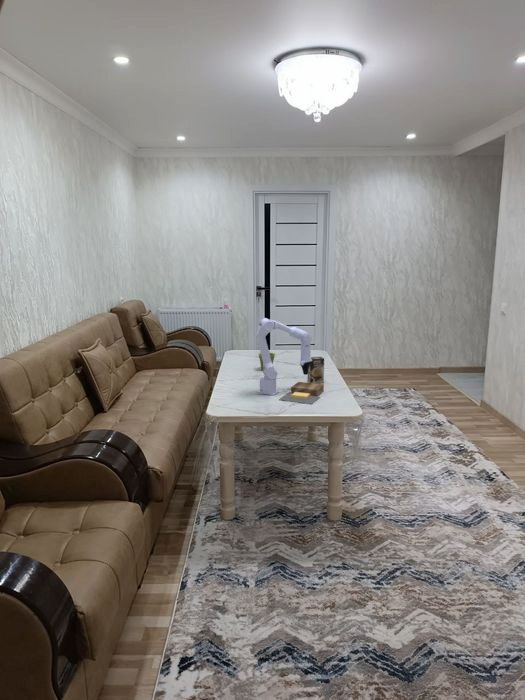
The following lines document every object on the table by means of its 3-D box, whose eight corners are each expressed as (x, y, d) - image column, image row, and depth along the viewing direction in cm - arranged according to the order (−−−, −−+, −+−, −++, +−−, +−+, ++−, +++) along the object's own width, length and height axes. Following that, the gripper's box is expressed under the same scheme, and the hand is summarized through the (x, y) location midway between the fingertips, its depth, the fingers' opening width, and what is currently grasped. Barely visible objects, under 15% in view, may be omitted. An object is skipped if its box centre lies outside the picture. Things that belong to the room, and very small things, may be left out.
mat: (278, 400, 288) (278, 399, 288) (287, 393, 300) (287, 392, 300) (312, 404, 280) (312, 403, 279) (320, 397, 291) (320, 396, 291)
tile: (295, 391, 294) (295, 395, 295) (291, 394, 289) (291, 398, 289) (310, 393, 291) (310, 397, 291) (306, 396, 285) (306, 400, 286)
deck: (291, 393, 299) (291, 387, 298) (298, 388, 310) (298, 381, 309) (317, 396, 293) (317, 390, 292) (323, 390, 303) (323, 384, 303)
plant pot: (269, 373, 344) (269, 357, 342) (255, 371, 351) (254, 355, 349) (278, 369, 354) (278, 353, 352) (264, 367, 361) (264, 351, 358)
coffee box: (310, 384, 317) (310, 359, 313) (307, 381, 323) (307, 357, 319) (324, 383, 319) (324, 358, 315) (321, 380, 325) (321, 356, 321)
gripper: (307, 355, 294) (307, 378, 297) (316, 350, 307) (315, 372, 310) (296, 354, 297) (296, 376, 300) (304, 349, 310) (304, 370, 313)
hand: (305, 374), depth 305 cm, fingers closed
